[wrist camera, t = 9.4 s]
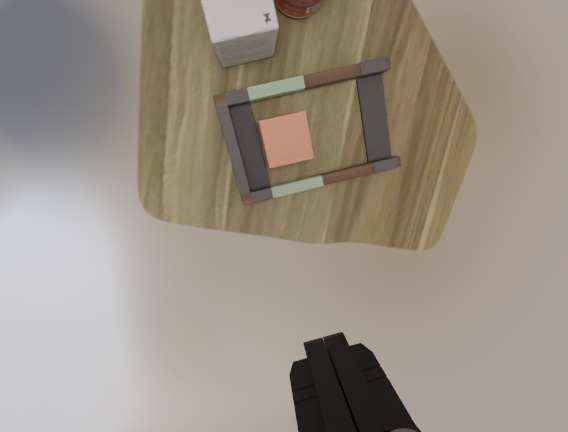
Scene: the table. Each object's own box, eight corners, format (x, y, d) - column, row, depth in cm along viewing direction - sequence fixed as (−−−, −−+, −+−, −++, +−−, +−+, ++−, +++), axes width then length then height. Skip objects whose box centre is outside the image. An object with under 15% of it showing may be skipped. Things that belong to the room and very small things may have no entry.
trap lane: (215, 97, 30) (213, 95, 29) (382, 60, 31) (389, 55, 30) (243, 203, 33) (243, 205, 32) (394, 166, 34) (401, 166, 33)
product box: (261, -6, 28) (264, -57, 21) (274, 57, 30) (281, 29, 23) (204, 6, 28) (188, -42, 21) (220, 69, 30) (210, 44, 22)
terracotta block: (258, 124, 31) (258, 120, 28) (299, 115, 32) (305, 110, 28) (267, 166, 33) (269, 168, 29) (306, 157, 33) (314, 158, 29)
